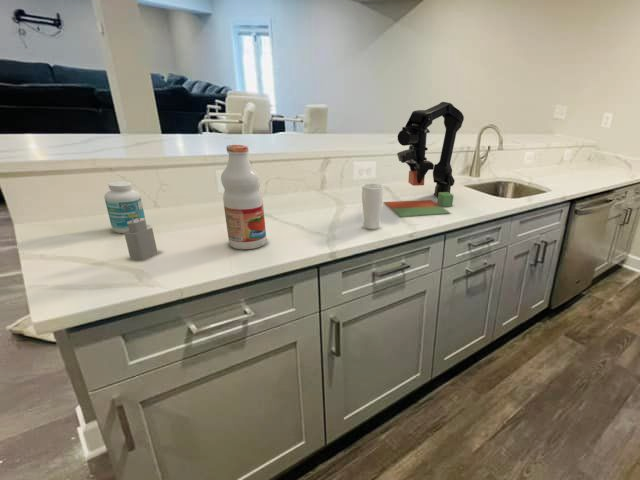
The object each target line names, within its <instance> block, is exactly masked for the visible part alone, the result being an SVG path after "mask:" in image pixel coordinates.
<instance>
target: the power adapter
mask: <svg viewBox="0 0 640 480" xmlns="http://www.w3.org/2000/svg"><path fill="white" fill-rule="evenodd" d="M137 214H138V218H137V219H134V220H133V217H132V213H130V215H131V221H128V222H127V224H128V228H129V230H128V231H126V232H124V233H123V235H124V237H125V238H124V239H125V243H126V247H127V250H128V254H129V258H130V260H131V261H136V262H141V261H145V260H147V259H150V258H151V257H153V256H155V255H157V254H158V252H159V251H158V247H157V243H156V239H155V234H154V229H153V227H152V226H148V225H147V221H145V220H146V217H145V218H140V216H139V212H138V210H137Z"/></svg>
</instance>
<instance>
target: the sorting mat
mask: <svg viewBox="0 0 640 480" xmlns="http://www.w3.org/2000/svg"><path fill="white" fill-rule="evenodd" d="M384 204H385V205H386V206H387V207H388V208H389V209H391V210H392V211H393V212H394V213H395V214H396V215H397V216H398V217H399V218H406V217H421V216H434V215H449V214H451V213H450V212H449V211H448V210H447V209H445V208H444V207H443V206H441V205H440V204H438V203H437V202H435V201H433V200H432V199H423V200H422V199H421V200H400V201H399V200H398V201H384Z"/></svg>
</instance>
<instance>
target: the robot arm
mask: <svg viewBox="0 0 640 480" xmlns="http://www.w3.org/2000/svg"><path fill="white" fill-rule="evenodd" d="M440 117H442V118H443V124H444V129H445V132H444V137H443V143H442V147H441V152H440V157H439V161H438V162H437V163H435V164H434V163H433V162H432V161H430V160H428V157H426V151H428V150H429V149H428V147H427V135H428V134H429V133H430V131H431V130H430V129H428V128H429V127H430V126H431V125H432V124H433V122H434V120H437V119H438V118H440ZM464 120H465V115H464V114H463V112H462V111H461V110H460V109H458V108H457V107H455V106H454V105H453V103H451V102H447V101H441V102H439V103H438V104H436V105H434V106H431V107H430V108H427V109H418V110H413V111H412V112H411V114H410V116H409V118H408V120H407V122H406V124H405V126H402V127H401V130H400V131H399V132H398V134H397V142H398V143H399V144H400V145H401V146H402V147H406V146H408V149H404V150H401V151H398V152H396V155H397V158H398V161H399V162H400V163H402V164H406V165H407V166H408V167H409V171H417V181H418V183H421V181H422V180H423V178H424V176H425V177H426V175H427V173H428V172H429V171H431V170H432V177H433V178H432V180H433V183H436V185H435V187H434V193H433V195H434V196H436V197H437V198H438V193H439V192H449V193H451V187H453V186H454V185H455V179H454V176H453V167H452V165H451V162H452V156H453V151H454V147H455V142H456V137H457V133H458V131H459V130H460V129H461V128H462V125H463V122H464ZM424 179H425V178H424Z"/></svg>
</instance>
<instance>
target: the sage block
mask: <svg viewBox="0 0 640 480" xmlns="http://www.w3.org/2000/svg"><path fill="white" fill-rule="evenodd" d="M453 203H454V194H453V193H451V192H450V193H449V192H439V193H438V197H437V204H438V205H439V206H441V207H453Z"/></svg>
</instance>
